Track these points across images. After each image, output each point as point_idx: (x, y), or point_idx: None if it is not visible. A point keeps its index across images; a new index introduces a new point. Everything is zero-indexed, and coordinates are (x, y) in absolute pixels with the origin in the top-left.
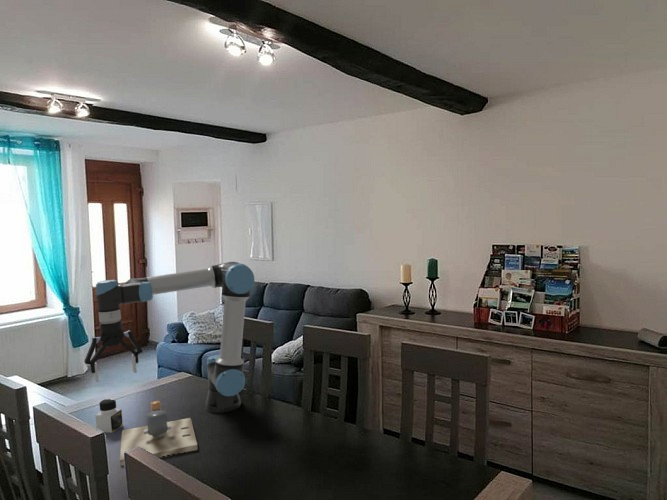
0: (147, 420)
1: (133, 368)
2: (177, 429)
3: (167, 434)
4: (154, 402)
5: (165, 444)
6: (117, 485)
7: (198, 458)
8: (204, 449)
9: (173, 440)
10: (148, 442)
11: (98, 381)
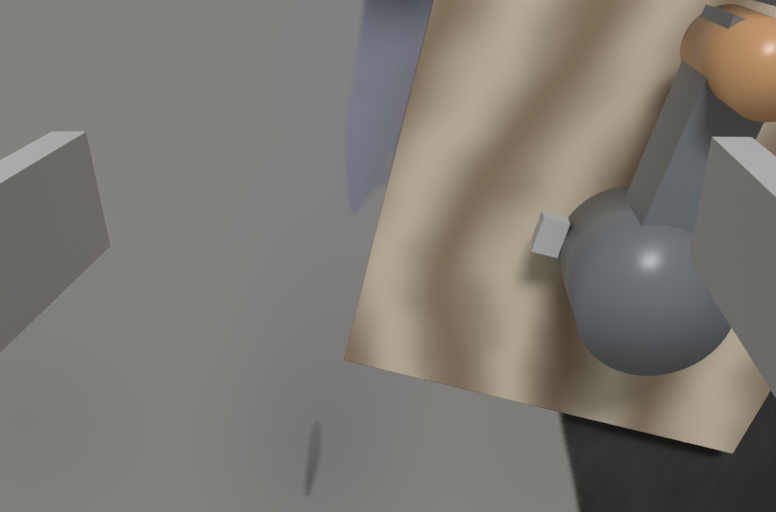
0: (571, 301)
1: (723, 228)
2: None
3: None
4: (771, 62)
5: None
6: (307, 485)
7: (675, 501)
8: (749, 449)
9: None
10: (536, 261)
11: (107, 246)
